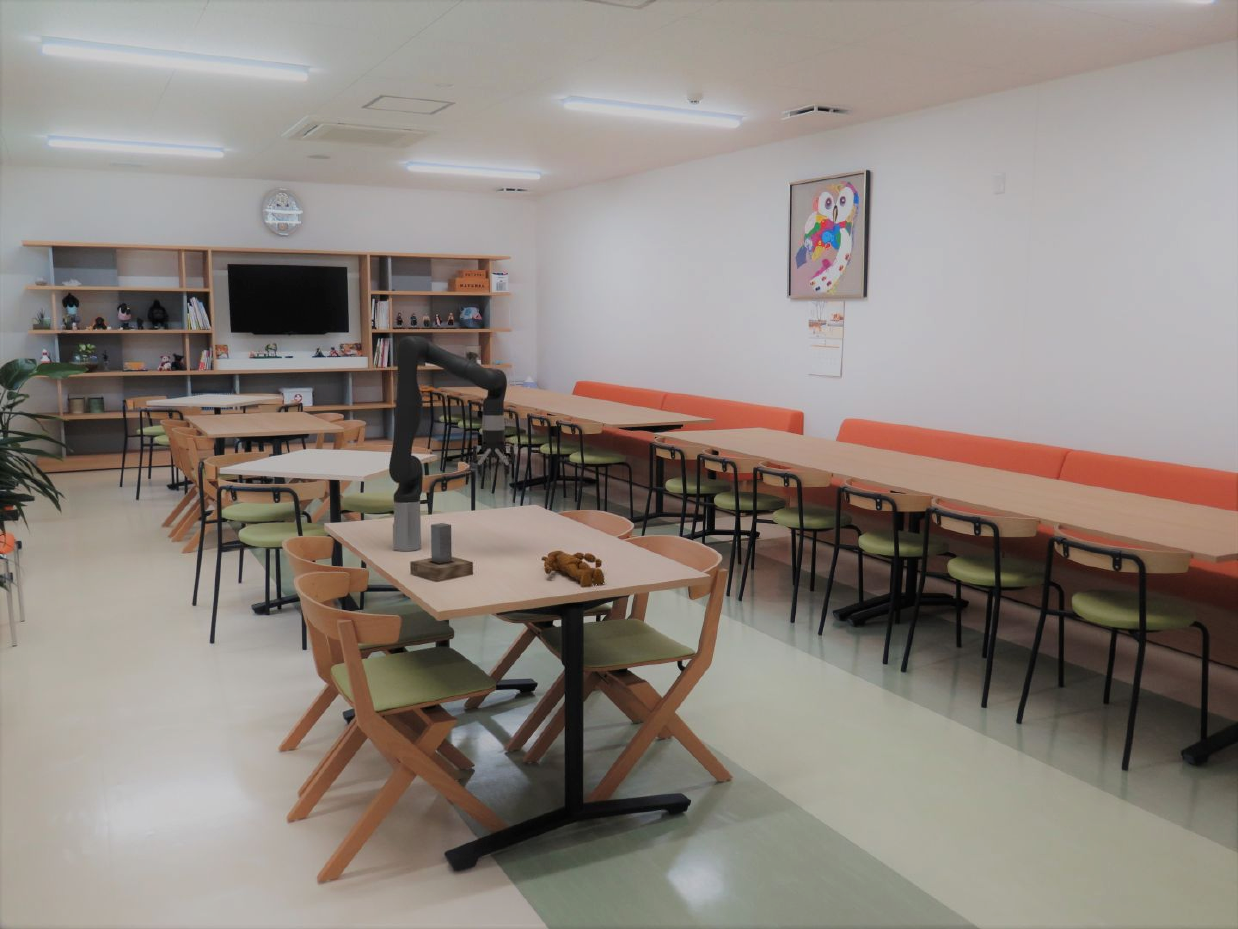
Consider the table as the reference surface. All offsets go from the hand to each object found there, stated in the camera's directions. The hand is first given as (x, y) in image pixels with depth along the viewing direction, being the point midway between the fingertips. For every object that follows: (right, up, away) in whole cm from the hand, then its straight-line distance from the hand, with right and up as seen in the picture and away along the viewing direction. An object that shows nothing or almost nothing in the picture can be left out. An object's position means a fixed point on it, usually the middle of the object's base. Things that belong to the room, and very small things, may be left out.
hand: (493, 475), depth 335 cm
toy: (+28, -32, -23) cm, 48 cm away
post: (-14, -31, -23) cm, 41 cm away
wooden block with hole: (-14, -31, -23) cm, 41 cm away
